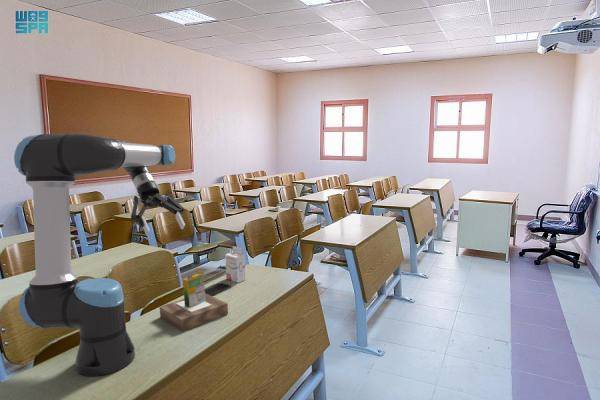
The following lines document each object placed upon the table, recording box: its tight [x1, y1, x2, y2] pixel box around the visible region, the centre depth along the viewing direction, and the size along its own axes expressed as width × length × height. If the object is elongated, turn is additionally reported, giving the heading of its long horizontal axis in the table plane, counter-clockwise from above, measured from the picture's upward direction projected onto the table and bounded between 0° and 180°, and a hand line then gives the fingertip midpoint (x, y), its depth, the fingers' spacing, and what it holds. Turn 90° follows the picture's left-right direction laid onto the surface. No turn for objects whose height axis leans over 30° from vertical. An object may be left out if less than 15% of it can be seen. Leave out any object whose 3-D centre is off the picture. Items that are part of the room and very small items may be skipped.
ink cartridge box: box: [224, 245, 247, 284], centre depth 178 cm, size 9×5×15 cm, turn 47°
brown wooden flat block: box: [159, 293, 229, 332], centre depth 141 cm, size 18×16×4 cm
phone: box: [205, 282, 232, 297], centre depth 165 cm, size 8×1×15 cm
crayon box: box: [182, 270, 206, 307], centre depth 141 cm, size 7×3×12 cm, turn 144°
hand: (166, 229), depth 145 cm, fingers open, 13 cm apart
